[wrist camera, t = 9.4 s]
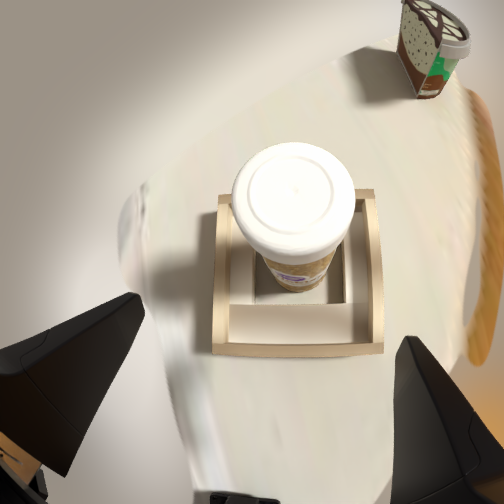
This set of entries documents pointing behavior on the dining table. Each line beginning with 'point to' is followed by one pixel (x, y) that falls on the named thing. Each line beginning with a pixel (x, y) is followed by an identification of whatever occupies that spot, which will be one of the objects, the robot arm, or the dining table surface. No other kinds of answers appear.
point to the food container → (430, 45)
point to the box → (305, 315)
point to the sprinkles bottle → (294, 210)
